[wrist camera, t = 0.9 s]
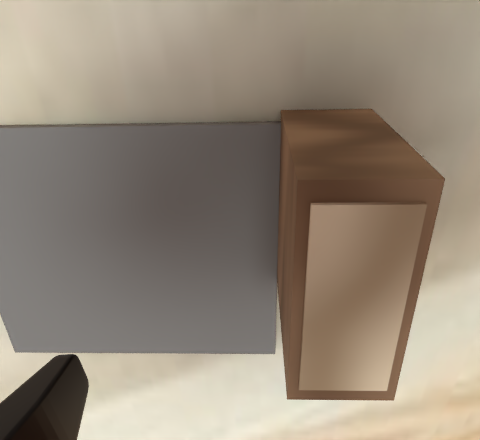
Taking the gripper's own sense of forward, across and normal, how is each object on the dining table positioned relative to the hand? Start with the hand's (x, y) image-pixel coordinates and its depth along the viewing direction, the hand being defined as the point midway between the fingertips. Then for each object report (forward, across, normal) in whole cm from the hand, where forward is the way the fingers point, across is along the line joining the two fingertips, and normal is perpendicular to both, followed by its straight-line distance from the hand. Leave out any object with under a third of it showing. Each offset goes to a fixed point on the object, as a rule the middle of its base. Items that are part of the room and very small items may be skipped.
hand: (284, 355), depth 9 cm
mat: (+12, +8, +5) cm, 15 cm away
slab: (+12, -2, +3) cm, 13 cm away
